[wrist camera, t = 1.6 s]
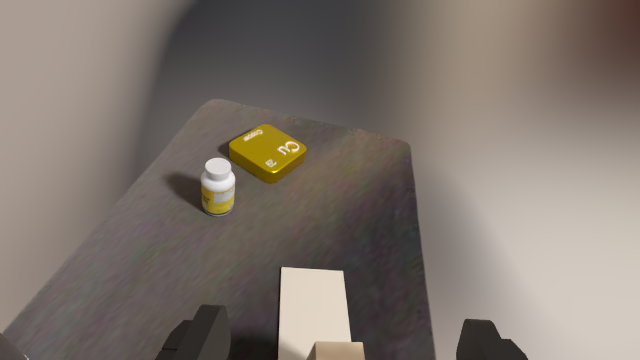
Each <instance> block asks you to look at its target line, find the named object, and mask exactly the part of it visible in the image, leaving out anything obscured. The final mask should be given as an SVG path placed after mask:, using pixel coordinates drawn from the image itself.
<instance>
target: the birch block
mask: <svg viewBox="0 0 640 360" xmlns="http://www.w3.org/2000/svg"><path fill="white" fill-rule="evenodd" d="M306 360H365V358H364V351H363V344H362V342H324V341H315V343H314V345H313V347H312V349H311V351H310V353H309V355H308V357H307V359H306Z"/></svg>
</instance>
